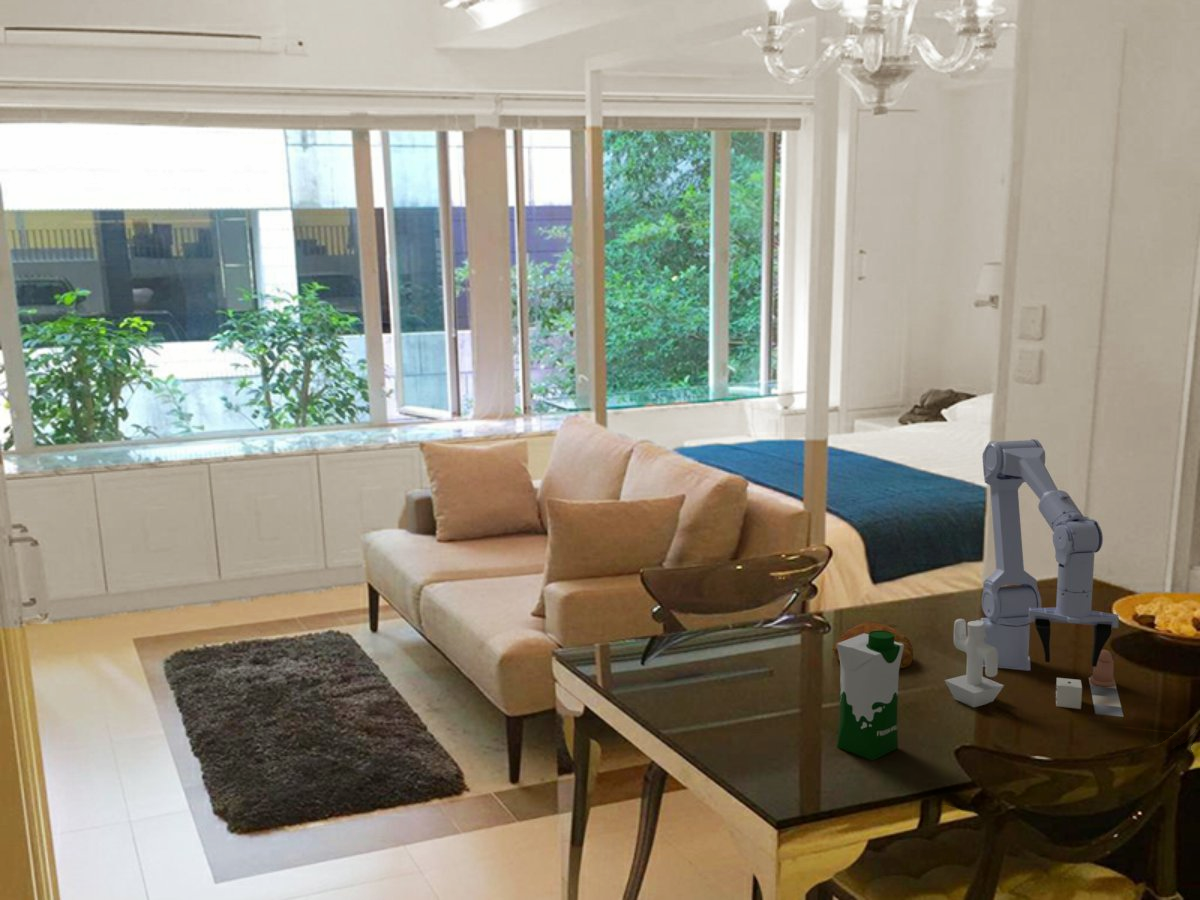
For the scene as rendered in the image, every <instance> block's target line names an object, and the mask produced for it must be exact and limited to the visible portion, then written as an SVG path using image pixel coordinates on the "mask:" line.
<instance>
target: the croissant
mask: <svg viewBox="0 0 1200 900" xmlns="http://www.w3.org/2000/svg"><path fill="white" fill-rule="evenodd" d="M877 630H881V631H888V632H891V633H893V634H894V641H895V642H898V643H901V644H904V648H903V652H902V657H901V662H900V667H899V669H902V668H904V669H905V668H907V667H909V666H910V665H911V664H912V661H913V659H914V649H913V644H912V642H911V640H910V639H909V638H908V637H907V636H905V635H903V633H902V632H900V631H898V630H897V629H895V628H894V627H891V626H889V625H885V624H881V623H876V622H873V621H866V622H864V621H863V622H861V623H858V624H856V625H855V626H854V627H851V628H850V629H848V630H847V631H845V632H844V633H842V635H840V637H839V639H838V640H836V642H835V644H834V645H833V646H832V649H831V650H832V651H833V654H834V656H835V658H836V659H837V660H838V661H839V662H840V658H839V653H838V648H837V643H840V642H842V641H845V640H848V639H850V638H853V637H856V636H858V635H861V634H864V633H865V634H869V633H870V632H871V631H877Z"/></svg>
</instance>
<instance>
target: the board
mask: <svg viewBox="0 0 1200 900" xmlns="http://www.w3.org/2000/svg"><path fill="white" fill-rule="evenodd" d="M1090 678H1091V677H1088V681H1089V687H1090V691H1091V698H1092V703H1093V708H1094V714H1095V715H1099V716H1100V715H1101V716H1108V717H1109V716H1110V717H1111V716H1112V717H1119V718H1120V717H1121V718H1124V713H1123V708H1122V704H1121V701H1120V696H1119V693H1118V688H1117V683H1116V682H1115V685H1114V686H1113V687H1100V686H1096V685H1093V684H1092V683H1091V682H1090Z"/></svg>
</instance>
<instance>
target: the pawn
mask: <svg viewBox="0 0 1200 900" xmlns="http://www.w3.org/2000/svg"><path fill="white" fill-rule="evenodd" d="M1112 658H1113V656H1112V653H1111V652H1110V651H1109V650H1108V649H1102V651H1101V653H1100V655H1099V658H1098V662H1097V667H1094V666H1092V667H1093V668H1092V670H1093V671H1092V675H1091V676H1090V677H1089V678H1090V682H1091V683H1092V684H1093V685H1096V686H1100V687H1113V686H1114V685H1115V683H1116V679H1115V677H1114V668H1115V660H1113V659H1112ZM1090 682H1089V683H1090Z"/></svg>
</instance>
